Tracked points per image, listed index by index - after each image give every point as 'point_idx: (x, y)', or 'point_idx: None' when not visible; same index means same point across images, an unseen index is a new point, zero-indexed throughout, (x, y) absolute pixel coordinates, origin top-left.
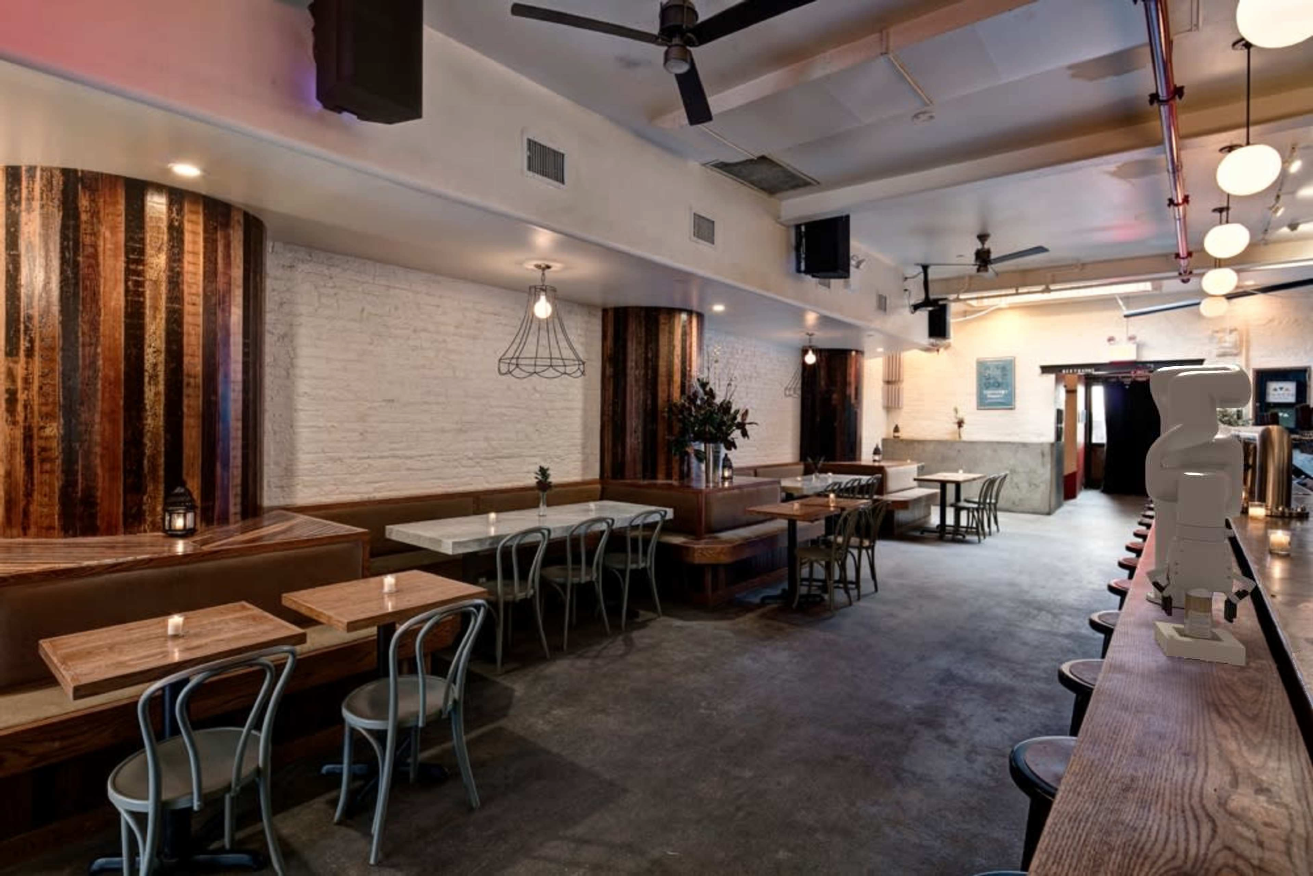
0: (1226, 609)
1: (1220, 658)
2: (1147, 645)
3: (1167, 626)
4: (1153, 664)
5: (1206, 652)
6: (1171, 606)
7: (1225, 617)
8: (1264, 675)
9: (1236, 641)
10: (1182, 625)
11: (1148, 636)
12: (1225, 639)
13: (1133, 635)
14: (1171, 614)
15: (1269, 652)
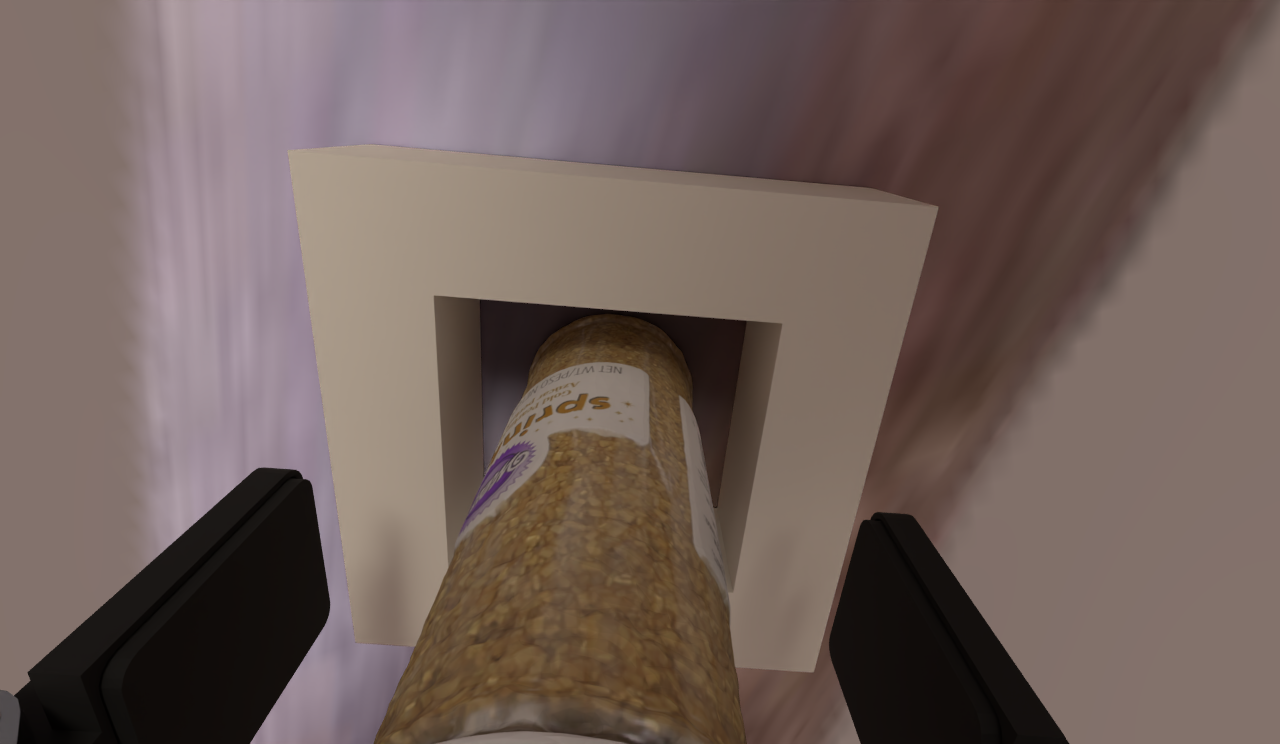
0: (895, 696)
1: None
2: (312, 381)
3: (394, 310)
4: (328, 691)
5: None
6: (255, 721)
7: (860, 579)
8: (816, 667)
9: (831, 548)
10: (542, 210)
11: (329, 117)
12: (768, 530)
13: (214, 138)
14: (315, 629)
15: (1140, 219)
